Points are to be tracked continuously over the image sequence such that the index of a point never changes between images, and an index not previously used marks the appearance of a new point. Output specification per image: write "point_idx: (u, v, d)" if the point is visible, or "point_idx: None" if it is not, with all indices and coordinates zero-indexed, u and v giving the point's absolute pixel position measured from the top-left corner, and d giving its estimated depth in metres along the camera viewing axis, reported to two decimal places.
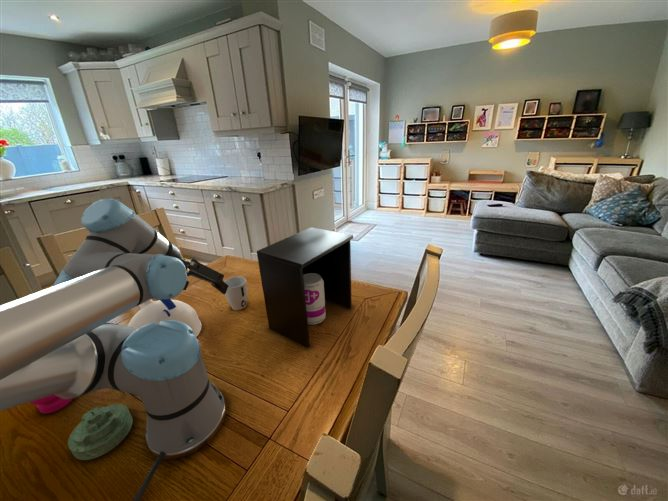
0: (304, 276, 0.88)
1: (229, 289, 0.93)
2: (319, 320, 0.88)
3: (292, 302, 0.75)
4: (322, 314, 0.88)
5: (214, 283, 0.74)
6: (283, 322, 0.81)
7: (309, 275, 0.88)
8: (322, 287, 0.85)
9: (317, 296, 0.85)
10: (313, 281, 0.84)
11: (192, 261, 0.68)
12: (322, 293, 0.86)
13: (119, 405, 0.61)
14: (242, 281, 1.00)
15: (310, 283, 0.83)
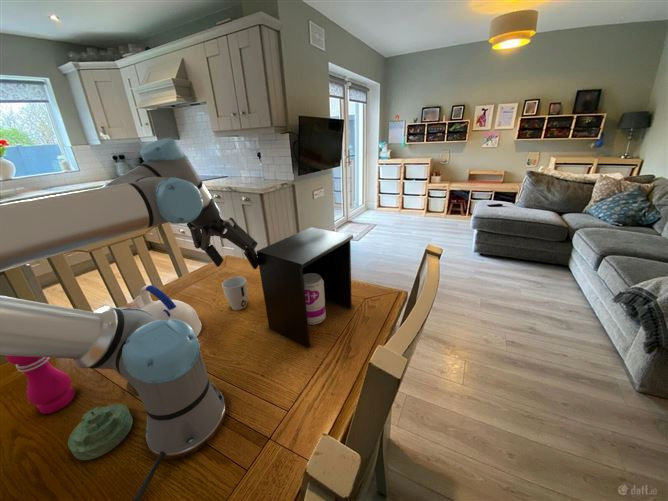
0: (304, 276, 0.88)
1: (229, 289, 0.93)
2: (319, 320, 0.88)
3: (292, 302, 0.75)
4: (322, 314, 0.88)
5: (247, 250, 0.72)
6: (283, 322, 0.81)
7: (309, 275, 0.88)
8: (322, 287, 0.85)
9: (317, 296, 0.85)
10: (313, 281, 0.84)
11: (230, 219, 0.68)
12: (322, 293, 0.86)
13: (119, 405, 0.61)
14: (242, 281, 1.00)
15: (310, 283, 0.83)
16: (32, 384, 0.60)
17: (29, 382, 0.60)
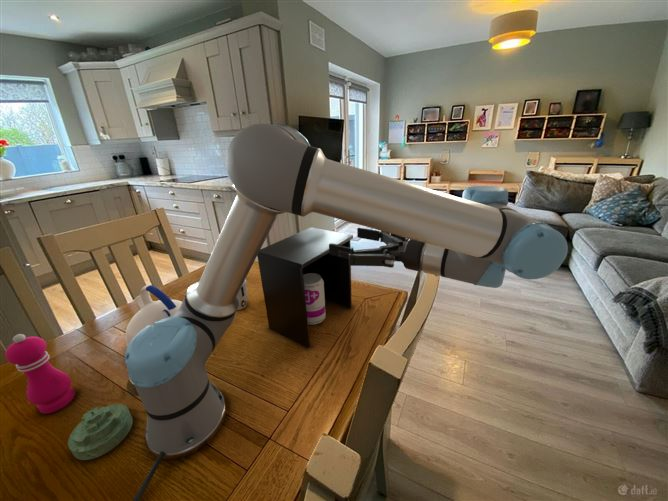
0: (304, 276, 0.88)
1: None
2: (319, 320, 0.88)
3: (292, 302, 0.75)
4: (322, 314, 0.88)
5: None
6: (283, 322, 0.81)
7: (309, 275, 0.88)
8: (322, 287, 0.85)
9: (317, 296, 0.85)
10: (313, 281, 0.84)
11: (392, 264, 0.59)
12: (322, 293, 0.86)
13: (119, 405, 0.61)
14: None
15: (310, 283, 0.83)
16: (32, 384, 0.60)
17: (29, 382, 0.60)
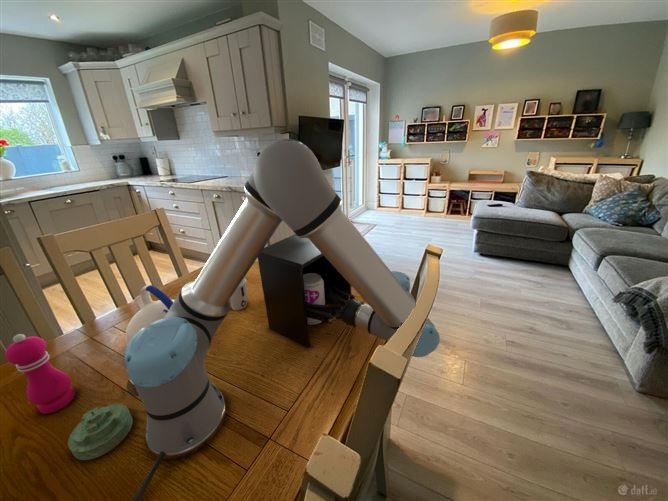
0: (304, 276, 0.88)
1: None
2: (319, 320, 0.88)
3: (292, 302, 0.75)
4: None
5: (306, 305, 0.83)
6: (283, 322, 0.81)
7: (309, 275, 0.88)
8: (322, 287, 0.85)
9: (317, 296, 0.85)
10: (313, 281, 0.84)
11: (330, 322, 0.77)
12: (322, 293, 0.86)
13: (119, 405, 0.61)
14: (242, 281, 1.00)
15: (310, 283, 0.83)
16: (32, 384, 0.60)
17: (29, 382, 0.60)
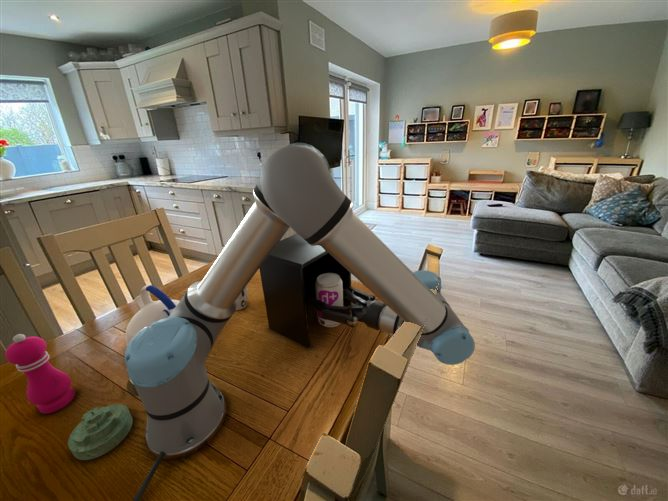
0: (321, 276, 0.83)
1: None
2: (337, 322, 0.83)
3: (292, 302, 0.75)
4: None
5: (325, 307, 0.78)
6: (283, 322, 0.81)
7: (327, 275, 0.83)
8: (341, 288, 0.81)
9: (336, 297, 0.80)
10: (332, 281, 0.80)
11: (352, 325, 0.73)
12: (341, 294, 0.82)
13: (119, 405, 0.61)
14: None
15: (329, 283, 0.79)
16: (32, 384, 0.60)
17: (29, 382, 0.60)
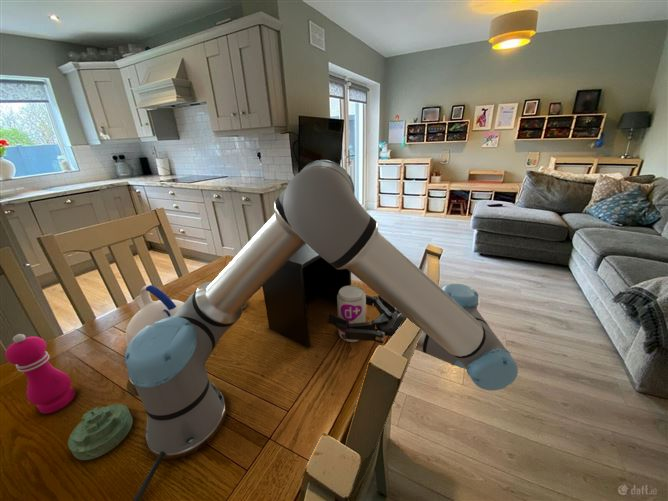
0: (343, 289, 0.80)
1: None
2: None
3: (292, 302, 0.75)
4: None
5: (348, 326, 0.72)
6: (283, 322, 0.81)
7: (349, 287, 0.80)
8: (364, 301, 0.77)
9: (360, 311, 0.76)
10: (355, 295, 0.76)
11: (382, 340, 0.69)
12: (365, 308, 0.78)
13: (119, 405, 0.61)
14: None
15: (352, 297, 0.75)
16: (32, 384, 0.60)
17: (29, 382, 0.60)
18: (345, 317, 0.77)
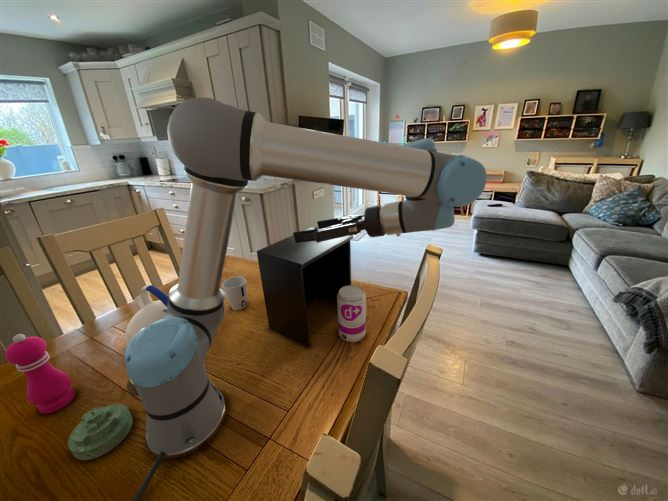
0: (343, 289, 0.80)
1: (229, 289, 0.93)
2: (360, 337, 0.80)
3: (292, 302, 0.75)
4: (363, 331, 0.80)
5: (317, 230, 0.64)
6: (283, 322, 0.81)
7: (349, 287, 0.80)
8: (364, 301, 0.77)
9: (360, 311, 0.76)
10: (355, 295, 0.76)
11: (356, 231, 0.62)
12: (365, 308, 0.78)
13: (119, 405, 0.61)
14: (242, 281, 1.00)
15: (352, 297, 0.75)
16: (32, 384, 0.60)
17: (29, 382, 0.60)
18: (345, 317, 0.77)
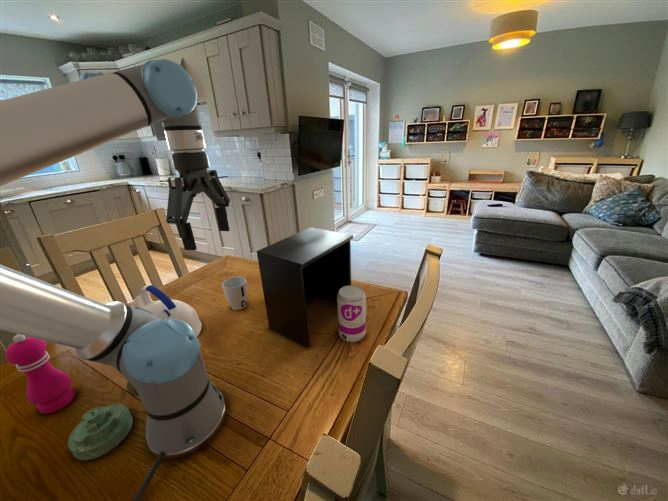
0: (343, 289, 0.80)
1: (229, 289, 0.93)
2: (360, 337, 0.80)
3: (292, 302, 0.75)
4: (363, 331, 0.80)
5: None
6: (283, 322, 0.81)
7: (349, 287, 0.80)
8: (364, 301, 0.77)
9: (360, 311, 0.76)
10: (355, 295, 0.76)
11: (175, 178, 0.58)
12: (365, 308, 0.78)
13: (119, 405, 0.61)
14: (242, 281, 1.00)
15: (352, 297, 0.75)
16: (32, 384, 0.60)
17: (29, 382, 0.60)
18: (345, 317, 0.77)
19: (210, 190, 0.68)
